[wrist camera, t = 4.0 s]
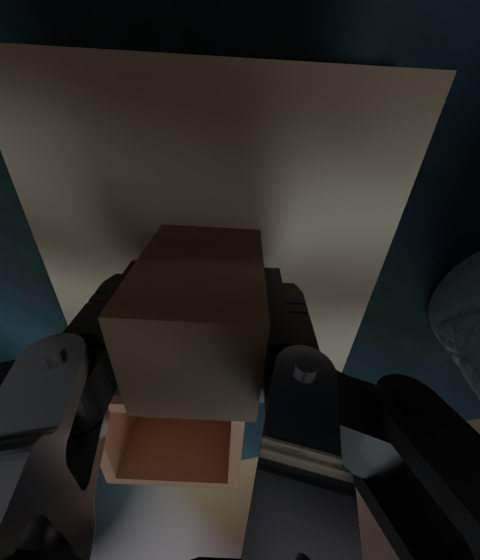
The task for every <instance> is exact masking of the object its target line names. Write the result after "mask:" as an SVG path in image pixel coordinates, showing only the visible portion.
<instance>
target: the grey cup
mask: <svg viewBox="0 0 480 560" xmlns="http://www.w3.org/2000/svg"><path fill="white" fill-rule="evenodd" d="M428 319H429V322H430V326H431V328H432V330H433V332H434V333H435V335H436V336H437V338H438V339H439V341H440V342H441V343H442V345H443V346H444V348H445V349H446V351H447V352H448V354H449V355H450V357H451V358H452V359H453V361H455V362H456V363H457V364H458V366H459V367H460V368H461V371H462V374H463V375H464V376H465V378H466V379H467V381H468V383H469V385H470V387H471V389H472V390H473V391H474V392H475V393H476V394H477V396H478V398H479V400H480V251H478V252H476V253H474V254H473V255H471V256H469V257H468V258H466V259H465V260H463V261H462V262H461V263H459V264H458V265H457V266H455V267H454V268H453V269H452V270H451V271H450V272H449V273H448V274H447V275H446V276H445V277H444V278H443V279H442V280H441V282H440V283H439V285H438V286H437V287H436V289H435V291H434V293H433V295H432V297H431V299H430V302H429V306H428Z"/></svg>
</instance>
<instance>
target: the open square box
mask: <svg viewBox="0 0 480 560" xmlns="http://www.w3.org/2000/svg"><path fill="white" fill-rule="evenodd" d="M108 408H109V411H110V419H109V424H108V429H107V434H106V439H105V444H104V449H103V454H102V459H101V464H100V467H101V469H102V472H103V474H104V477H105V479H106V481H107V483H118V484H138V485H160V486H180V487H204V488H223V489H238V482H239V472H240V462H241V453H242V444H243V434H244V425H245V422H240V421H220V420H199V419H179V418H158V417H137V416H127V414H126V410H125V407H124V404H123V400H122V397H121V395H114V396H113V398H112V400H111V402H110V404H109V407H108Z"/></svg>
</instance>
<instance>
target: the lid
mask: <svg viewBox="0 0 480 560" xmlns="http://www.w3.org/2000/svg"><path fill="white" fill-rule="evenodd" d="M456 72H457V71H454V70H437V69H421V68H405V67H388V66H372V65H356V64H339V63H323V62H307V61H290V60H274V59H258V58H241V57H225V56H209V55H192V54H176V53H160V52H143V51H127V50H111V49H94V48H78V47H62V46H45V45H29V44H13V43H0V150H1V152H2V155H3V158H4V160H5V163H6V165H7V168H8V171H9V173H10V176H11V178H12V181H13V184H14V186H15V189H16V191H17V194H18V197H19V199H20V202H21V204H22V207H23V210H24V212H25V215H26V217H27V220H28V223H29V225H30V228H31V230H32V233H33V236H34V238H35V241H36V243H37V246H38V249H39V251H40V254H41V256H42V259H43V262H44V264H45V267H46V269H47V272H48V275H49V277H50V280H51V282H52V285H53V288H54V290H55V293H56V295H57V298H58V300H59V303H60V306H61V308H62V311H63V313H64V316H65V319H66V321H67V324H68V325H69V324H70V323H71V321H72V320H73V319H74V318H75V316H76V315H77V314H78V313H79V311H80V310H81V309H82V308H83V306H84V305H85V304H86V303H88V300H89V299H90V298H91V296H92V295H93V294H95V291H96V290H97V289H98V287H99V286H100V285H101V284H102V282H103V281H105V280H107V279H108V278H110V277H111V276H113V275H114V274H122V273H123V272H124V271H125V269H126V268H127V266H128V265H129V264H130V262H131V261H132V260H137V261H136V262H135V264H134V265H133V266H132V268H131V269H130V271H129V272H128V274H127V275H126V277H125V278H124V280H123V281H122V282H121V284H120V285H119V287H118V288H117V290H116V291H115V293H114V294H113V296H112V297H111V298H110V300H109V301H108V303H107V304H106V306H105V307H104V309H103V310H102V312H101V313H100V314H99V316H98V321H99V324H100V327H101V331H102V334H103V337H104V341H105V344H106V347H107V351H108V354H109V357H110V360H111V364H112V367H113V370H114V374H115V377H116V380H117V384H118V387H119V390H120V394H121V397H122V400H123V404H124V407H125V410H126V414H127V416H137V417H158V418H179V419H199V420H220V421H240V422H256V420H257V413H258V406H259V400H260V393H261V386H262V379H263V372H264V365H265V359H266V352H267V345H268V338H269V331H270V319H269V309H268V300H267V290H266V280H265V271H264V267H270V268H279V269H280V273H281V278H282V283H294V284H295V285H296V286H297V287H298V288H299V289H300V290H301V291H302V292H303V294H304V298H305V301H306V305H307V308H308V312H309V315H310V318H311V322H312V325H313V329H314V332H315V336H316V339H317V343H318V346H319V349H320V351H321V352H322V353H324V354H325V355H326V356H327V357H328V358H329V359H330V360H331V361H332V363H333V365H334V366H335V369H336V370H338V371H339V372H341V373H342V370H343V368H344V365H345V362H346V360H347V357H348V355H349V352H350V349H351V347H352V344H353V342H354V339H355V336H356V334H357V331H358V328H359V326H360V323H361V321H362V318H363V315H364V313H365V310H366V307H367V305H368V302H369V300H370V297H371V294H372V292H373V289H374V286H375V284H376V281H377V279H378V276H379V273H380V271H381V268H382V265H383V263H384V260H385V258H386V255H387V252H388V250H389V247H390V245H391V242H392V239H393V237H394V234H395V231H396V229H397V226H398V224H399V221H400V218H401V216H402V213H403V210H404V208H405V205H406V203H407V200H408V197H409V195H410V192H411V189H412V187H413V184H414V182H415V179H416V176H417V174H418V171H419V169H420V166H421V163H422V161H423V158H424V155H425V153H426V150H427V148H428V145H429V142H430V140H431V137H432V134H433V132H434V129H435V127H436V124H437V121H438V119H439V116H440V113H441V111H442V108H443V106H444V103H445V100H446V98H447V95H448V92H449V90H450V87H451V85H452V82H453V79H454V77H455V74H456Z"/></svg>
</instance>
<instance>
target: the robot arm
mask: <svg viewBox="0 0 480 560" xmlns="http://www.w3.org/2000/svg"><path fill="white" fill-rule="evenodd" d="M136 261H137V260H132V261H131V262H130V264H129V265H128V266H127V268H126V269H125V271H124V272H123V273H122V274H114V275H113V276H111V277H110V278H108V279H107V280H105V281H103V282H102V284H101V285H100V286H99V287H98V289H97V290H96V291H95V294H93V295H92V296H91V298H90V299H89V300H88V303H86V304H85V305H84V306H83V308H82V309H81V310H80V311H79V313H78V314H77V315H76V316H75V318H74V319H73V320H72V321H71V323H70V324H69V325H68V327H67V328H66V329H65V330H64V332H63V333H60V334H55V335H50V336H47V337H45V338H42V339H40V340H38V341H36V342H34V343H33V344H31V345H30V346H28V347H27V348H26V349H25V350H23V352H22V353H21V354H20V355H19V356H18V358H17V359H16V360H11V361H6V362H0V560H90V557H91V551H92V545H93V540H94V531H95V509H94V497H95V489H96V484H97V479H98V474H99V469H100V464H101V459H102V454H103V449H104V444H105V439H106V434H107V429H108V424H109V419H110V411H109V408H108V407H109V404H110V402H111V400H112V398H113V396H114V395H121V394H120V390H119V387H118V384H117V380H116V377H115V374H114V370H113V367H112V364H111V360H110V357H109V354H108V351H107V347H106V344H105V341H104V337H103V334H102V331H101V327H100V324H99V321H98V316H99V314H100V313H101V312H102V310H103V309H104V307H105V306H106V304H107V303H108V301H109V300H110V298H111V297H112V296H113V294H114V293H115V291H116V290H117V288H118V287H119V285H120V284H121V282H122V281H123V280H124V278H125V277H126V275H127V274H128V272H129V271H130V269H131V268H132V266H133V265H134V264H135V262H136ZM264 271H265V280H266V290H267V300H268V309H269V319H270V331H269V338H268V345H267V352H266V359H265V365H264V372H263V379H262V386H261V393H260V400H259V403H265V422H264V428H263V434H262V440H261V445H260V451H259V457H258V463H257V469H256V474H255V480H254V486H253V492H252V498H251V504H250V509H249V515H248V521H247V526H246V532H245V538H244V544H243V550H242V555H241V559H233V558H232V559H231V558H210V557H198V558H195V559H192V560H362V551H361V540H360V530H359V519H358V510H357V498H356V490H355V486H356V488H357V490H358V491H359V493H360V495H361V496H362V498H363V500H364V501H365V503H366V505H367V506H368V508H369V510H370V511H371V513H372V515H373V516H374V518H375V520H376V521H377V523H378V524H379V526H380V527H381V529H382V531H383V533H384V534H385V536H386V538H387V539H388V541H389V543H390V544H391V546H392V548H393V549H394V551H395V553H396V554H397V556H398V557H399V559H400V560H480V434H479V433H478V432H477V431H475V430H474V429H473V428H472V427H471V426H470V425H469V424H468V423H467V422H466V421H465V420H464V419H463V418H462V417H461V416H460V415H459V414H457V413H456V412H455V411H454V410H453V409H452V408H451V407H450V406H449V405H448V404H447V403H446V402H445V401H444V400H443V399H442V398H441V397H439V396H438V395H437V394H436V393H435V392H434V391H433V390H432V389H431V388H429V387H428V386H426V385H425V384H423V383H422V382H420V381H418V380H416V379H414V378H411V377H408V376H405V375H399V374H390V375H386V376H384V377H382V378H381V379H379V381H378V382H377V384H376V385H375V384H372V383H369V382H365V381H362V380H359V379H356V378H353V377H350V376H347V375H345V374H343V373H341V372H339V371H338V370H336V369H335V366H334V365H333V363H332V361H331V360H330V359H329V358H328V357H327V356H326V355H325V354H324V353H322V352H321V351H320V349H319V346H318V343H317V339H316V336H315V332H314V329H313V325H312V322H311V318H310V315H309V312H308V308H307V305H306V301H305V298H304V294H303V292H302V291H301V290H300V289H299V288H298V287H297V286H296V285H295V284H294V283H282V278H281V273H280V269H279V268H270V267H264Z"/></svg>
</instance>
